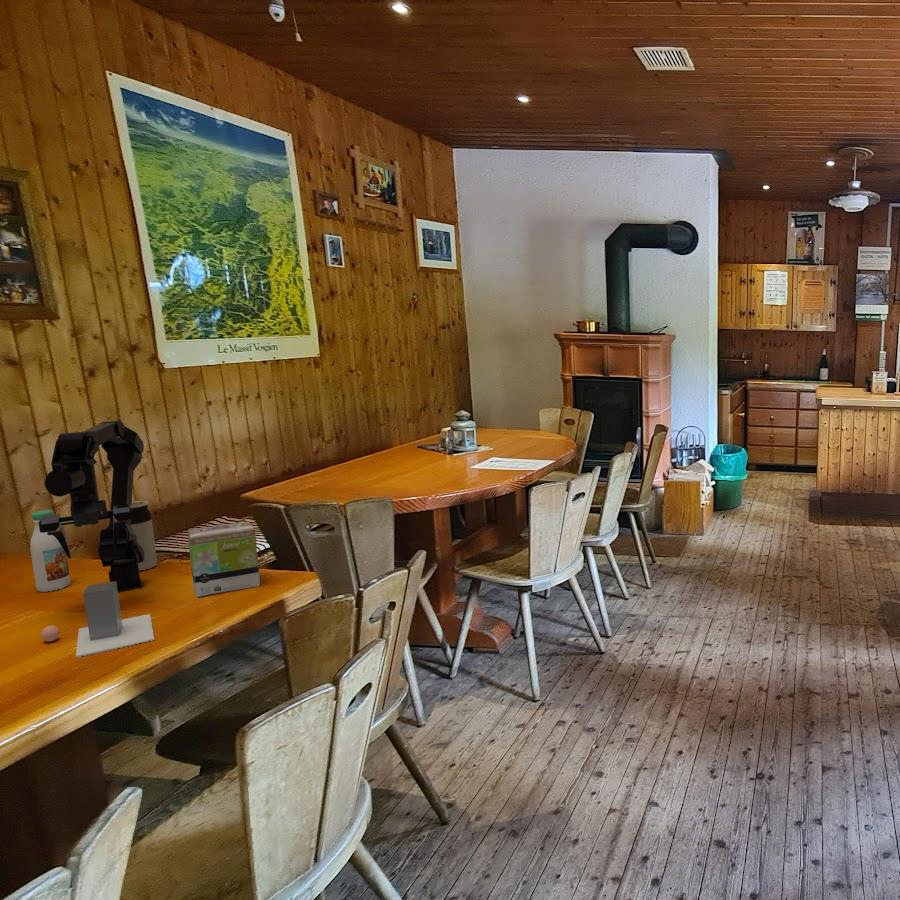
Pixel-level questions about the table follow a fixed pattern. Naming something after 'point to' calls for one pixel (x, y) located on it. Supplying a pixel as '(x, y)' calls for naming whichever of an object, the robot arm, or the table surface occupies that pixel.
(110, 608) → the tin
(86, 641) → the mat
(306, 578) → the table surface
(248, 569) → the tea box
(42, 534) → the milk bottle
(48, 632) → the ball
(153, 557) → the travel mug
